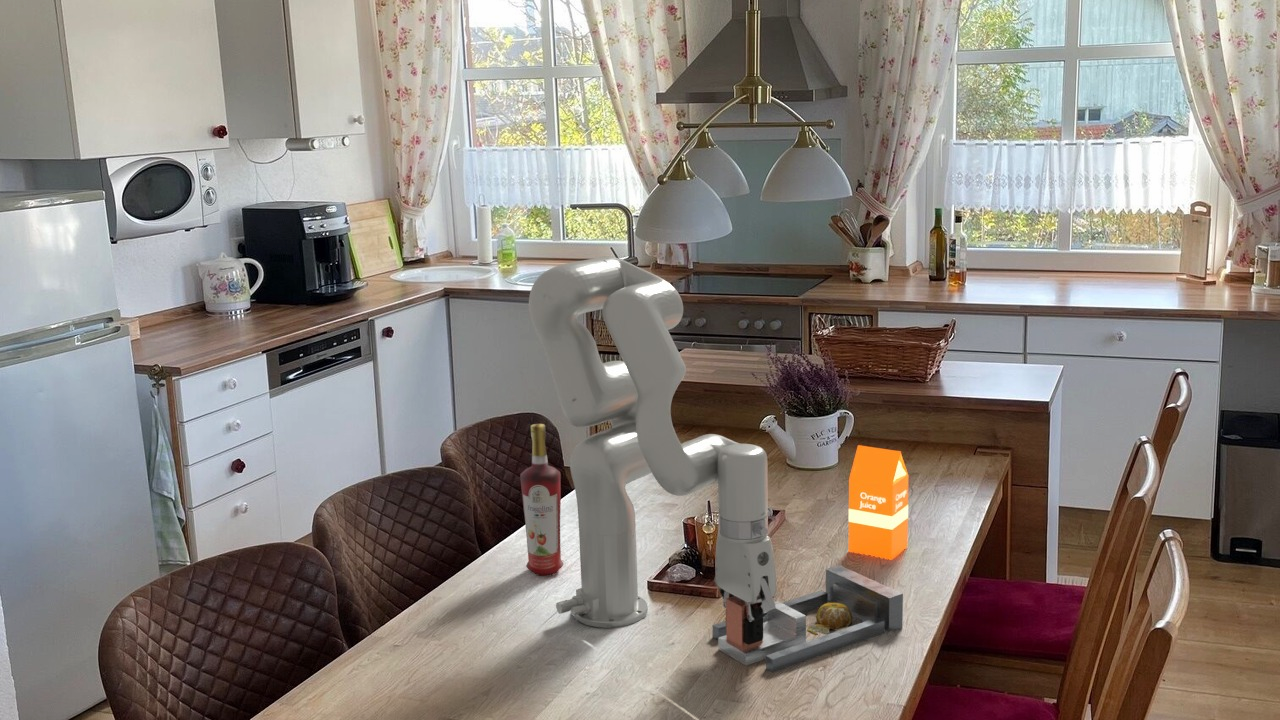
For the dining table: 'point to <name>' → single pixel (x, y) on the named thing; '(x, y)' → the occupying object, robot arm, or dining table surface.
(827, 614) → the fruit
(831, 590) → the press frame
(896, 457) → the orange juice
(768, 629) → the ram
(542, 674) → the dining table surface
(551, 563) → the liquor
